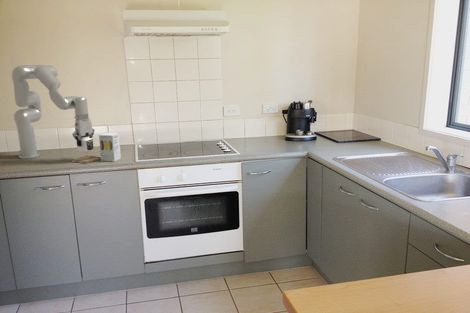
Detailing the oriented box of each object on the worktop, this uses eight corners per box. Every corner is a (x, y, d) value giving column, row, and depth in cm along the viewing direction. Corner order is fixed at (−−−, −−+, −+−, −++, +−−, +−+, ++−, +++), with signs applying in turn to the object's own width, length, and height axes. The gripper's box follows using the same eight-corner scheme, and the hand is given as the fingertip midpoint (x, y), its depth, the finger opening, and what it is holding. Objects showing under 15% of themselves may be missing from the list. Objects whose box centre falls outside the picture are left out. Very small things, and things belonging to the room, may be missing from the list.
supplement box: (100, 161, 258) (98, 134, 254) (107, 157, 267) (105, 132, 263) (115, 161, 256) (112, 135, 252) (121, 158, 265) (119, 132, 261)
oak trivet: (72, 161, 258) (72, 159, 258) (87, 157, 268) (86, 155, 268) (86, 163, 252) (85, 161, 252) (100, 159, 263) (100, 157, 262)
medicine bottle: (87, 151, 255) (85, 132, 252) (77, 151, 256) (75, 132, 253) (93, 149, 261) (91, 130, 259) (83, 148, 263) (81, 130, 260)
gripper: (75, 119, 245) (78, 148, 249) (97, 115, 260) (99, 142, 264) (66, 118, 248) (69, 147, 252) (88, 115, 263) (91, 141, 267)
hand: (85, 144), depth 258 cm, fingers closed on medicine bottle, 8 cm apart
